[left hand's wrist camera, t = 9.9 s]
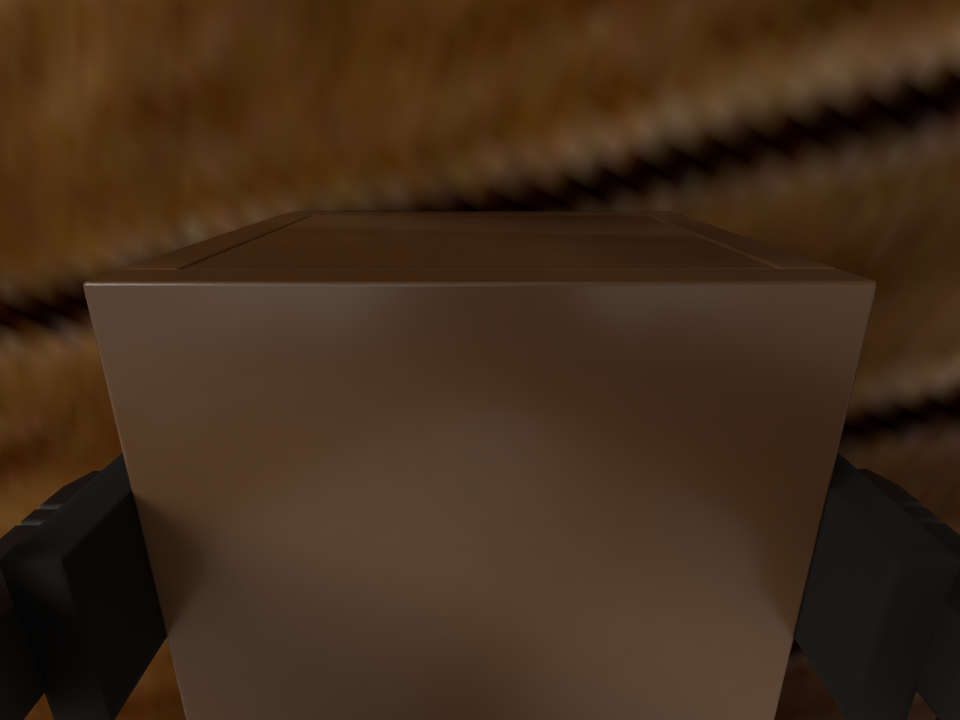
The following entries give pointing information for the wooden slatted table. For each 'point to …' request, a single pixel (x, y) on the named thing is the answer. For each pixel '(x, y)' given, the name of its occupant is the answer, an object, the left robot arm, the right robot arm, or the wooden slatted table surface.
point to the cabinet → (480, 461)
